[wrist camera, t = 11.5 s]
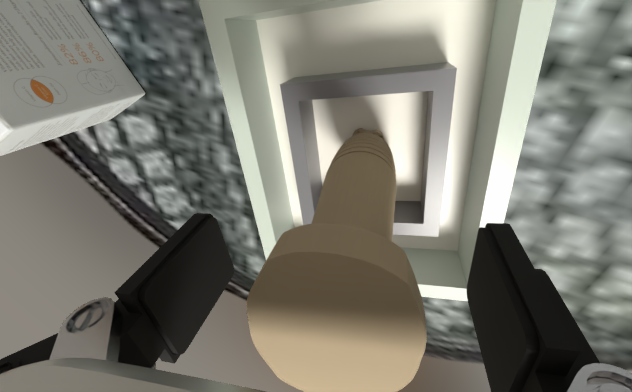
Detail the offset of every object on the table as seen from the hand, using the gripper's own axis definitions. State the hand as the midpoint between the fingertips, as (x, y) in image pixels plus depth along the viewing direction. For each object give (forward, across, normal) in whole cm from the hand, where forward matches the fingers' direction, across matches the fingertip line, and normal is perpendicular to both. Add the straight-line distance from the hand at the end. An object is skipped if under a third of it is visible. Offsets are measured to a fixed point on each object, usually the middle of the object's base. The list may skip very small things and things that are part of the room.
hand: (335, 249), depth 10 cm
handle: (+12, 0, +1) cm, 12 cm away
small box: (+14, +22, -7) cm, 27 cm away
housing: (+13, 0, +1) cm, 13 cm away
